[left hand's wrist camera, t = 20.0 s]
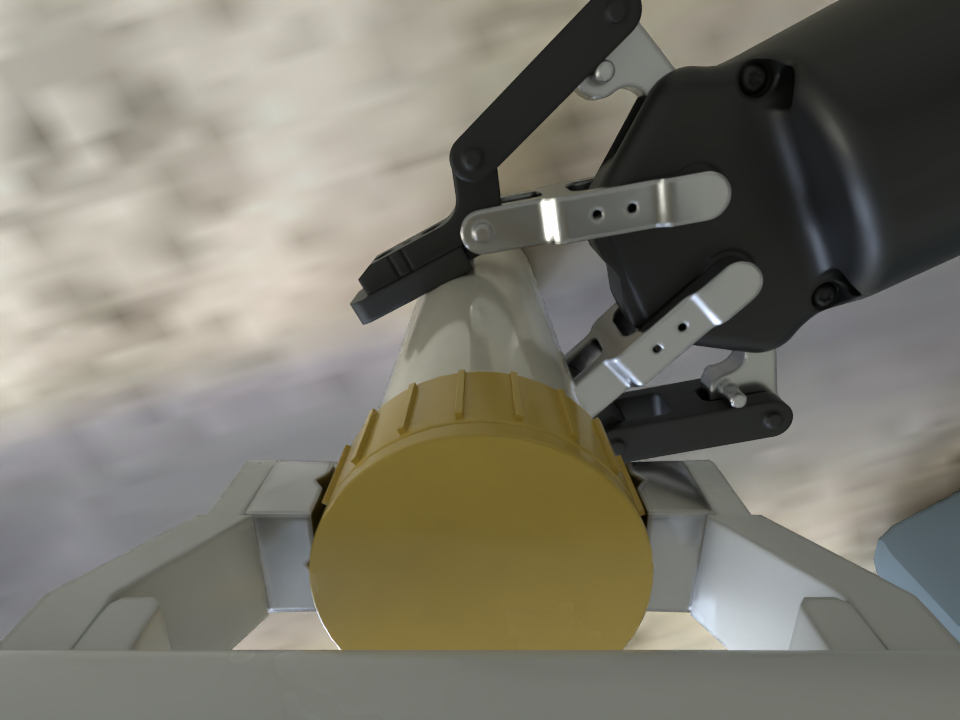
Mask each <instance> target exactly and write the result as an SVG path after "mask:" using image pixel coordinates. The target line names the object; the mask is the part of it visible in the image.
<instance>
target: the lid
mask: <svg viewBox="0 0 960 720" xmlns="http://www.w3.org/2000/svg"><path fill="white" fill-rule="evenodd" d="M322 503H323V504H325V505H326V507H325V510H324V512H323V515H322V518H321V520H320V522H319V525H318V527H317V530H316V532H315V536H314V539H313V543H312V547H311V551H310V561H309V579H310V588H311V593H312V597H313V601H314V605H315V608H316V610H317V613H318V615H319V618H320V620H321V622H322V624H323V626H324V628H325V629H326V631H327V633H328V634H329V636H330V638H331V639H332V640H333V641H334V643H335V644H336V645H337V647H338V648H339V649H340V650H623V649H624V647H625V646H626V645H627V643H628V642H629V641H630V639H631V638H632V637H633V635H634V634H635V632H636V630H637V629H638V627H639V625H640V623H641V621H642V619H643V617H644V615H645V612H646V609H647V607H648V604H649V601H650V596H651V591H652V586H653V572H654V562H653V555H652V547H651V543H650V540H649V537H648V533H647V530H646V527H645V525H644V522H643V520H642V518H641V516H642V515H645V511H644V508H643V506H642V503H641V501H640V499H639V496H638V494H637V492H636V489H635V487H634V485H633V483H632V480H631V478H630V476H629V473H628V471H627V469H626V466H625V464H624V462H623V459H622V457H621V455H618V456H616V455H615V453H614V451H613V449H612V447H611V444H610V442H609V440H608V437H607V435H606V432H605V430H604V427H603V425H602V423H601V421H600V419H599V418H598V417H596V418H595V419H593V418H592V417H591V416H590V415H589V414H588V413H587V412H586V411H585V410H584V409H583V408H582V407H581V406H579V405H578V404H577V403H576V402H574V401H573V400H572V399H571V398H569V397H567V396H566V393H565V391H564V390H563V389H561V388H559V389H558V390H556V389H554V388H552V387H549V386H547V385H545V384H543V383H540V382H538V381H535V380H532V379H528V378H525V377H522V376H518V374H517V372H513V371H511V372H510V374H506V373H501V372H484V371H476V372H465V369H462V370H458V373H455V374H450V375H445V376H440V377H437V378H434V379H431V380H428V381H425V382H422V383H419V384H417V385H416V383H415V382H414V383H411V384H409V387H408V389H407V390H405V391H403V392H401V393H400V394H398V395H397V396H395V397H394V398H392V399H391V400H389V401H388V402H386V403H385V404H384V405H383V406H382V407H381V408H379V409H378V410H377V411H376V410H375V409H372V410H371V411H370V412H369V415H368V417H367V420H366V423H365V424H364V425H363V427H362V428H361V430H360V431H359V433H358V434H357V436H356V437H355V439H354V440H353V443H352V445H351V446H349V445H346V446H345V448H344V450H343V453H342V455H341V457H340V460H339V462H338V464H337V467H336V469H335V471H334V474H333V476H332V479H331V481H330V483H329V486H328V488H327V490H326V493H325V495H324V497H323V500H322Z"/></svg>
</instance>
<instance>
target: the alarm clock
mask: <svg viewBox="0 0 960 720" xmlns="http://www.w3.org/2000/svg"><path fill="white" fill-rule="evenodd" d="M874 563H875V567H876V571H877V574H878V576H879V577H881V578H883V579H885V580H887V581H889V582H891V583H893V584H895V585H896V586H898V587H900V588H902V589H904V590H906V591H908V592H910V593H912V594H914V595H916V596H917V597H918V599H919V600H920V601H921V602H922V603H923V604H924V605H925V606H926V607H927V608H928V609H929V610H930V611H931V612H932V614H933V615H934V616H935V617H936V618H937V619H938V620H939V621H940V622H941V623H942V624H943V625H944V626H945V628H946V629H947V630H948V631H949V632H950V633H951V634H952V635H953V636H954V637H955V638H956V639H957V640H958V641H959V643H960V491H958V492H956V493H954V494H952V495H950V496H948V497H947V498H945V499H943V500H941V501H939V502H937V503H935V504H933V505H931V506H929V507H928V508H926V509H924V510H922V511H920V512H918V513H916V514H914V515H912V516H910V517H909V518H907V519H905V520H903V521H901V522H899V523H897V524H895V525H893V526H892V527H891V528H890V529H889V530H888V531H887V532H886V533H885V534H884V535H883V536H882V537H880V538H879V539H878V543H877V547H876V551H875V556H874Z"/></svg>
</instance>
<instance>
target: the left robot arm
mask: <svg viewBox="0 0 960 720" xmlns="http://www.w3.org/2000/svg"><path fill="white" fill-rule="evenodd" d="M337 464H338V463H337V462H333V461H282V460H281V461H278V460H252V461H248V462H246V463H245V464H244V465H243V466H242V468H241V469H240V471H239V472H238V473H237V475H236V476H235V478H234V479H233V480H232V482H231V483H230V485H229V486H228V487H227V489H226V490H225V492H224V493H223V494H222V496H221V497H220V499H219V500H218V501H217V503H216V504H215V506H214V507H213V509H212V510H211V511H210V513H209V514H208V515H198V516H196V517H194V518H192V519H190V520H188V521H186V522H184V523H182V524H180V525H178V526H176V527H174V528H173V529H171V530H169V531H167V532H165V533H163V534H161V535H159V536H157V537H155V538H153V539H151V540H149V541H147V542H146V543H144V544H142V545H140V546H138V547H136V548H134V549H132V550H130V551H128V552H126V553H124V554H122V555H120V556H118V557H117V558H115V559H113V560H111V561H109V562H107V563H105V564H103V565H101V566H99V567H97V568H95V569H93V570H91V571H90V572H88V573H86V574H84V575H82V576H80V577H78V578H76V579H74V580H72V581H70V582H68V583H66V584H64V585H62V586H61V587H59V588H57V589H55V590H53V591H51V592H49V593H47V594H45V595H44V596H43V597H42V598H41V599H40V600H39V601H38V603H37V604H36V605H35V606H34V607H33V608H32V609H31V610H30V611H29V612H28V613H27V614H26V615H25V616H24V617H23V619H22V620H21V621H20V622H19V623H18V624H17V625H16V626H15V627H14V628H13V629H12V630H11V631H10V632H9V633H8V635H7V636H6V637H5V638H4V639H3V640H2V641H1V642H0V720H960V643H959V641H958V640H957V639H956V638H955V637H954V636H953V635H952V634H951V633H950V632H949V631H948V630H947V629H946V628H945V626H944V625H943V624H942V623H941V622H940V621H939V620H938V619H937V618H936V617H935V616H934V615H933V614H932V612H931V611H930V610H929V609H928V608H927V607H926V606H925V605H924V604H923V603H922V602H921V601H920V600H919V599H918V597H917V596H916V595H914V594H912V593H910V592H908V591H906V590H904V589H902V588H900V587H898V586H896V585H895V584H893V583H891V582H889V581H887V580H885V579H883V578H881V577H879V576H877V575H875V574H873V573H871V572H870V571H868V570H866V569H864V568H862V567H860V566H858V565H856V564H854V563H852V562H850V561H848V560H846V559H845V558H843V557H841V556H839V555H837V554H835V553H833V552H831V551H829V550H827V549H825V548H823V547H821V546H820V545H818V544H816V543H814V542H812V541H810V540H808V539H806V538H804V537H802V536H800V535H798V534H796V533H795V532H793V531H791V530H789V529H787V528H785V527H783V526H781V525H779V524H777V523H775V522H773V521H772V520H770V519H768V518H766V517H764V516H762V515H751V513H750V512H749V511H748V509H747V508H746V506H745V505H744V504H743V502H742V501H741V499H740V498H739V497H738V495H737V494H736V493H735V491H734V490H733V488H732V487H731V486H730V484H729V483H728V481H727V480H726V479H725V477H724V476H723V474H722V473H721V472H720V470H719V469H718V467H717V466H716V465H715V463H714V462H712V461H710V460H691V461H653V462H624V464H625V466H626V469H627V471H628V473H629V476H630V478H631V480H632V483H633V485H634V487H635V489H636V492H637V494H638V496H639V499H640V501H641V503H642V506H643V508H644V511H645V515H642V516H641V518H642V520H643V522H644V525H645V527H646V530H647V533H648V537H649V540H650V543H651V547H652V555H653V562H654V572H653V586H652V591H651V596H650V601H649V604H648V607H647V609H646V611H659V612H691V616H693V617H694V618H695V619H696V620H697V621H698V622H699V623H700V624H701V625H702V626H703V627H704V628H705V629H707V630H708V631H709V632H710V633H711V634H712V635H713V636H714V637H715V638H716V639H717V640H718V641H720V642H721V643H722V644H723V645H724V646H725V647H726V648H727V649H728V650H232V649H233V648H234V647H235V646H236V645H237V644H238V643H239V642H240V641H241V640H242V639H244V638H245V637H246V636H247V635H248V634H249V633H250V632H251V631H252V630H253V629H254V628H255V627H257V626H258V625H259V624H260V623H261V622H262V621H263V620H264V619H265V618H266V617H267V616H268V615H269V614H268V612H300V611H317V610H316V608H315V605H314V601H313V597H312V593H311V588H310V579H309V561H310V551H311V547H312V543H313V539H314V536H315V532H316V530H317V527H318V525H319V522H320V520H321V518H322V515H323V512H324V510H325V507H326V505H325V504H323V503H322V500H323V497H324V495H325V493H326V490H327V488H328V486H329V483H330V481H331V479H332V476H333V474H334V471H335V469H336V467H337Z"/></svg>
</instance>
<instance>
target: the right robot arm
mask: <svg viewBox="0 0 960 720" xmlns="http://www.w3.org/2000/svg"><path fill="white" fill-rule="evenodd" d="M641 13H642V4H641V0H590V1H589V2H588V3H587V4H586V5H585V6H584V7H583V9H582V10H581V11H580V12H579V13H578V14H577V15H576V16H575V17H574V18H573V19H572V20H571V21H570V22H569V23H568V24H567V25H566V26H565V27H564V28H563V29H562V31H561V32H560V33H559V34H558V35H557V36H556V37H555V38H554V39H553V40H552V41H551V42H550V43H549V44H548V45H547V46H546V47H545V48H544V49H543V50H542V51H541V53H540V54H539V55H538V56H537V57H536V58H535V59H534V60H533V61H532V62H531V63H530V64H529V65H528V66H527V67H526V68H525V69H524V70H523V71H522V72H521V73H520V74H519V76H518V77H517V78H516V79H515V80H514V81H513V82H512V83H511V84H510V85H509V86H508V87H507V88H506V89H505V90H504V91H503V92H502V93H501V94H500V95H499V96H498V98H497V99H496V100H495V101H494V102H493V103H492V104H491V105H490V106H489V107H488V108H487V109H486V110H485V111H484V112H483V113H482V114H481V115H480V116H479V117H478V118H477V120H476V121H475V122H474V123H473V124H472V125H471V126H470V127H469V128H468V129H467V130H466V131H465V132H464V133H463V134H462V135H461V136H460V137H459V138H458V139H457V140H456V142H455V143H454V144H453V146H452V148H451V151H450V165H451V168H452V173H453V180H454V187H455V194H456V207H455V209H454V211H453V212H452V213H451V214H450V215H449V216H448V217H447V218H446V219H444V220H442V221H440V222H438V223H437V224H435V225H433V226H431V227H429V228H427V229H426V230H424V231H422V232H420V233H418V234H416V235H414V236H413V237H411V238H409V239H407V240H406V241H403V242H402V243H400V244H398V245H396V246H394V247H393V248H391V249H389V250H387V251H385V252H383V253H381V254H379V255H378V256H377V257H376V258H375V259H374V260H373V262H372V263H371V264H370V265H369V267H368V268H367V269H366V270H365V272H364V273H363V274H362V276H361V277H360V278H359V279H358V280H359V282H360V283H361V285H362V287H363V289H362V290H360V291H359V292H358V294H357V295H356V296H355V298H354V299H353V300H352V302H351V303H350V305H351V306H352V308H353V310H354V311H355V313H356V314H357V316H358V318H359V319H360V321H361V322H362V324H368V323H370V322H372V321H374V320H376V319H378V318H380V317H382V316H384V315H386V314H388V313H390V312H392V311H394V310H396V309H397V308H399V307H401V306H403V305H405V304H407V303H409V302H411V301H413V300H415V299H417V298H419V297H421V296H422V295H424V294H426V293H428V292H430V291H432V290H434V289H436V288H438V287H439V286H441V285H443V284H445V283H447V282H449V281H451V280H453V279H455V278H457V277H459V276H461V275H463V274H465V273H467V272H469V271H470V270H472V269H473V266H474V258H476V257H478V256H480V255H485V254H491V253H497V252H502V251H508V250H514V249H519V248H525V247H530V246H536V245H541V244H568V243H574V242H579V241H585V240H588V242H589V244H590V246H591V247H592V248H593V249H594V250H595V251H596V253H597V254H598V255H599V256H600V257H601V258H602V260H603V261H604V262H605V263H606V265H607V271H608V278H609V284H610V290H611V292H612V294H613V296H614V298H615V301H616V303H615V304H614V305H613V306H612V307H610V308H609V309H608V310H607V311H606V312H605V313H604V314H603V315H602V316H600V317H599V318H598V319H597V320H596V322H595V323H594V324H593V326H592V328H591V331H590V332H589V334H588V335H587V336H586V337H585V338H584V339H583V340H582V341H581V342H579V343H578V344H577V345H576V346H575V347H574V348H573V349H572V350H571V351H569V352H568V353H567V354H566V355H565V356H564V357H565V359H566V362H567V365H568V367H569V370H570V373H571V375H572V378H573V381H574V383H575V386H576V389H577V391H578V394H579V397H580V399H581V402H582V405H583V407H584V410H585V411H586V412H587V413H588V414H589V415H590V416H591V417H592V418H593V419H595V418H596V417H598V418H599V419H600V421H601V423H602V425H603V427H604V430H605V432H606V435H607V437H608V440H609V442H610V444H611V447H612V449H613V451H614V453H615V455H616V456H618V455H621V457H622V459H623V462H631V461H636V460H642V459H648V458H654V457H659V456H665V455H671V454H676V453H682V452H688V451H694V450H699V449H705V448H711V447H716V446H722V445H728V444H734V443H739V442H745V441H751V440H757V439H762V438H768V437H774V436H777V435H780V434H782V433H783V432H785V431H786V430H787V429H788V428H789V426H790V425H791V423H792V420H793V413H792V410H791V408H790V407H789V406H788V405H787V404H786V403H785V402H784V401H782V400H781V398H780V397H779V396H778V394H777V364H776V348H778V347H780V346H782V345H783V344H785V343H786V342H787V341H788V340H789V339H790V338H791V337H792V336H793V335H794V334H795V333H796V332H797V330H798V329H799V328H800V327H801V326H802V325H803V324H804V323H805V322H807V321H808V320H809V319H810V318H811V317H813V316H814V315H816V314H817V313H819V312H821V311H823V310H826V309H829V308H832V307H835V306H838V305H842V304H845V303H849V302H853V301H856V300H860V299H863V298H866V297H868V296H871V295H873V294H876V293H878V292H880V291H882V290H884V289H887V288H889V287H891V286H893V285H895V284H898V283H900V282H902V281H904V280H906V279H909V278H911V277H913V276H915V275H917V274H920V273H922V272H924V271H926V270H928V269H931V268H933V267H935V266H937V265H939V264H942V263H944V262H946V261H948V260H950V259H953V258H955V257H957V256H959V255H960V0H838V1H837V2H835V3H833V4H831V5H829V6H827V7H826V8H824V9H822V10H820V11H818V12H816V13H815V14H813V15H811V16H809V17H807V18H805V19H804V20H802V21H800V22H798V23H796V24H794V25H793V26H791V27H789V28H787V29H785V30H783V31H781V32H780V33H778V34H776V35H774V36H772V37H770V38H769V39H767V40H765V41H763V42H761V43H759V44H758V45H756V46H754V47H752V48H750V49H748V50H747V51H745V52H743V53H741V54H739V55H737V56H736V57H734V58H732V59H730V60H728V61H726V62H724V63H722V64H719V65H717V66H710V67H700V66H688V67H682V68H679V69H676V70H675V69H674V67H673V66H672V65H671V63H670V62H669V61H668V59H667V58H666V57H665V55H664V54H663V53H662V51H661V50H660V49H659V48H658V46H657V45H656V44H655V42H654V41H653V40H652V38H651V37H650V36H649V34H648V33H647V32H646V30H645V29H644V28H643V27H642V25H641V24H640V23H639V21H640V17H641ZM619 89H626V90H629V91H632V92H633V93H635V94H636V95H637V96H638V98H637V100H636V102H635V104H634V105H633V107H632V109H631V111H630V113H629V115H628V116H627V118H626V120H625V122H624V124H623V126H622V128H621V129H620V131H619V133H618V135H617V137H616V139H615V141H614V142H613V144H612V146H611V148H610V150H609V152H608V154H607V155H606V157H605V159H604V161H603V163H602V165H601V166H600V168H599V170H598V172H597V174H596V176H594V177H589V178H583V179H578V180H573V181H567V182H562V183H557V184H551V185H546V186H542V187H539V188H536V189H533V190H529V191H524V192H518V193H513V194H507V195H502V196H500V188H499V179H498V171H497V167H498V166H499V165H500V164H501V163H502V162H503V161H504V160H505V159H506V158H507V157H508V156H509V155H510V154H511V153H512V152H513V151H514V150H515V149H516V148H517V147H518V146H519V145H520V144H521V143H522V142H523V141H524V140H525V139H526V138H527V137H528V136H529V135H530V134H531V133H532V132H533V131H534V130H535V129H536V128H537V127H538V126H539V125H540V124H541V123H542V122H543V121H544V120H545V119H546V118H547V117H548V116H549V115H550V114H551V113H552V112H553V111H554V110H555V109H556V108H557V107H558V106H559V105H560V104H561V103H562V102H563V101H564V100H565V99H566V98H567V97H568V96H569V95H570V94H571V93H572V92H573V91H575V92H576V93H577V94H578V95H579V96H580V97H581V98H583V99H585V100H592V101H593V100H598V99H602V98H606V97H608V96H610V95H611V94H613V93H614V92H615V91H617V90H619ZM692 345H697V346H705V347H712V348H719V349H727V350H732V352H731V354H730V355H729V356H728V357H727V358H726V359H725V360H724V361H722V362H720V363H717V364H714V365H709V366H707V367H706V368H705V369H704V372H703V374H702V376H701V378H700V379H695V380H690V381H684V382H679V383H673V384H668V385H662V386H657V387H651V388H646V389H641V390H635V391H630V392H624V391H626V390H627V389H629V388H631V387H640V386H642V385H644V384H646V383H647V382H649V381H650V380H651V379H652V378H654V377H655V376H656V375H657V374H658V373H660V372H661V371H662V370H663V369H664V368H665V367H667V366H668V365H669V364H670V363H671V362H673V361H674V360H675V359H676V358H677V357H679V356H680V355H681V354H682V353H683V352H685V351H686V350H687V349H688V348H689V347H690V346H692ZM623 392H624V393H623Z"/></svg>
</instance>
